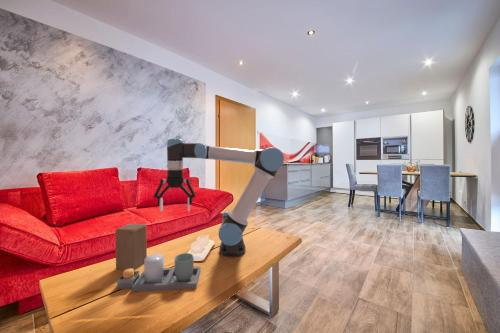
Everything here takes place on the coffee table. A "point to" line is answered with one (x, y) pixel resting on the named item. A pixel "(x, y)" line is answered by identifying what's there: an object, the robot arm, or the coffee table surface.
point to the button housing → (127, 281)
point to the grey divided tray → (168, 281)
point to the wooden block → (131, 246)
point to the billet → (154, 269)
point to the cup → (184, 267)
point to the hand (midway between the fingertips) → (175, 210)
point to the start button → (128, 273)
